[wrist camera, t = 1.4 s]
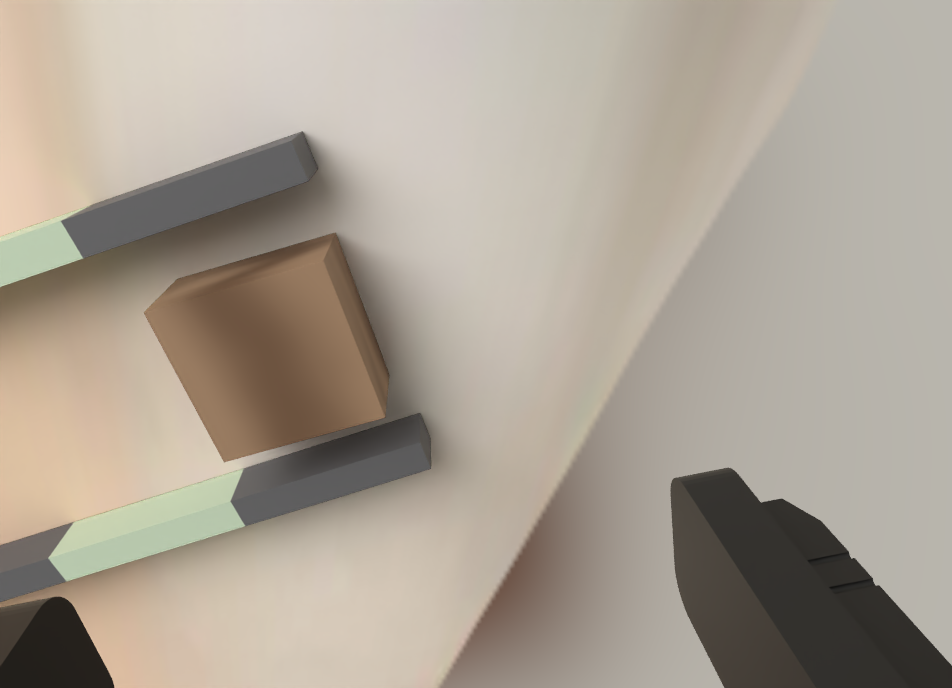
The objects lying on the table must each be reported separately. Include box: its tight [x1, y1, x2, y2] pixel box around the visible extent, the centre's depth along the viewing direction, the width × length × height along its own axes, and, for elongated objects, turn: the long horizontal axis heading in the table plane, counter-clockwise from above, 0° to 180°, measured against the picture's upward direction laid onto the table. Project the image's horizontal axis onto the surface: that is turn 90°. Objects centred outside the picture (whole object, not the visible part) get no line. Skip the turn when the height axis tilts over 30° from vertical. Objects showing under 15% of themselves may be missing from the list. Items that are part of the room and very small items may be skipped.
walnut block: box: [144, 233, 389, 462], centre depth 28 cm, size 7×7×4 cm
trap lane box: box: [0, 131, 431, 602], centre depth 29 cm, size 28×15×2 cm, turn 108°
